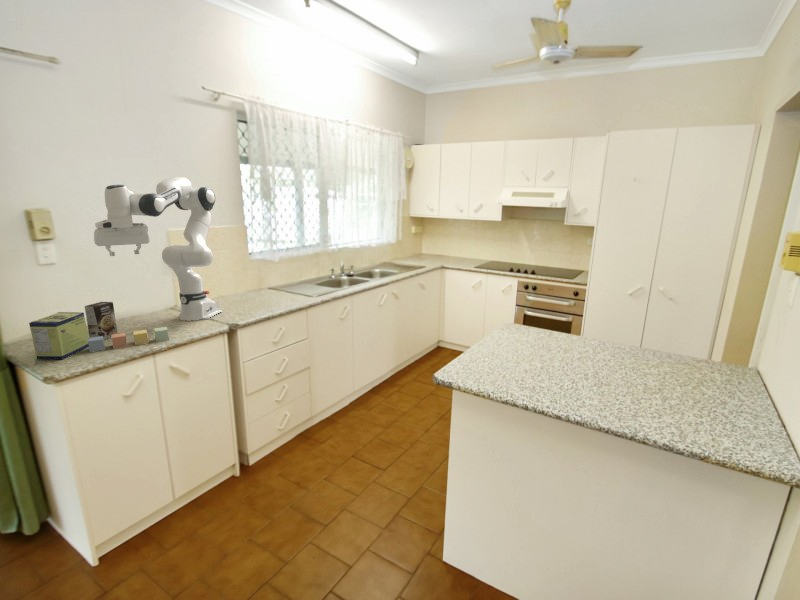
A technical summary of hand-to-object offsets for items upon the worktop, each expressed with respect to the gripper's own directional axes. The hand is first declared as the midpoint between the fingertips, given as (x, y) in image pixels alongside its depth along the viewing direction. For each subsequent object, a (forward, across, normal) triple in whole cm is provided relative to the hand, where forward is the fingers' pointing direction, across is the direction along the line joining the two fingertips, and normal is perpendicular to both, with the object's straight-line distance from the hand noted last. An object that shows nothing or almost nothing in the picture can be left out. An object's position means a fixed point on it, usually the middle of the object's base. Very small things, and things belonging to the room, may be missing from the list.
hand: (125, 255), depth 178 cm
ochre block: (+39, +1, +9) cm, 40 cm away
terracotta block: (+39, +8, +7) cm, 40 cm away
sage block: (+38, -7, +11) cm, 41 cm away
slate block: (+39, +16, +5) cm, 42 cm away
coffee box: (+39, +10, -10) cm, 41 cm away
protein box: (+39, +26, -1) cm, 47 cm away
